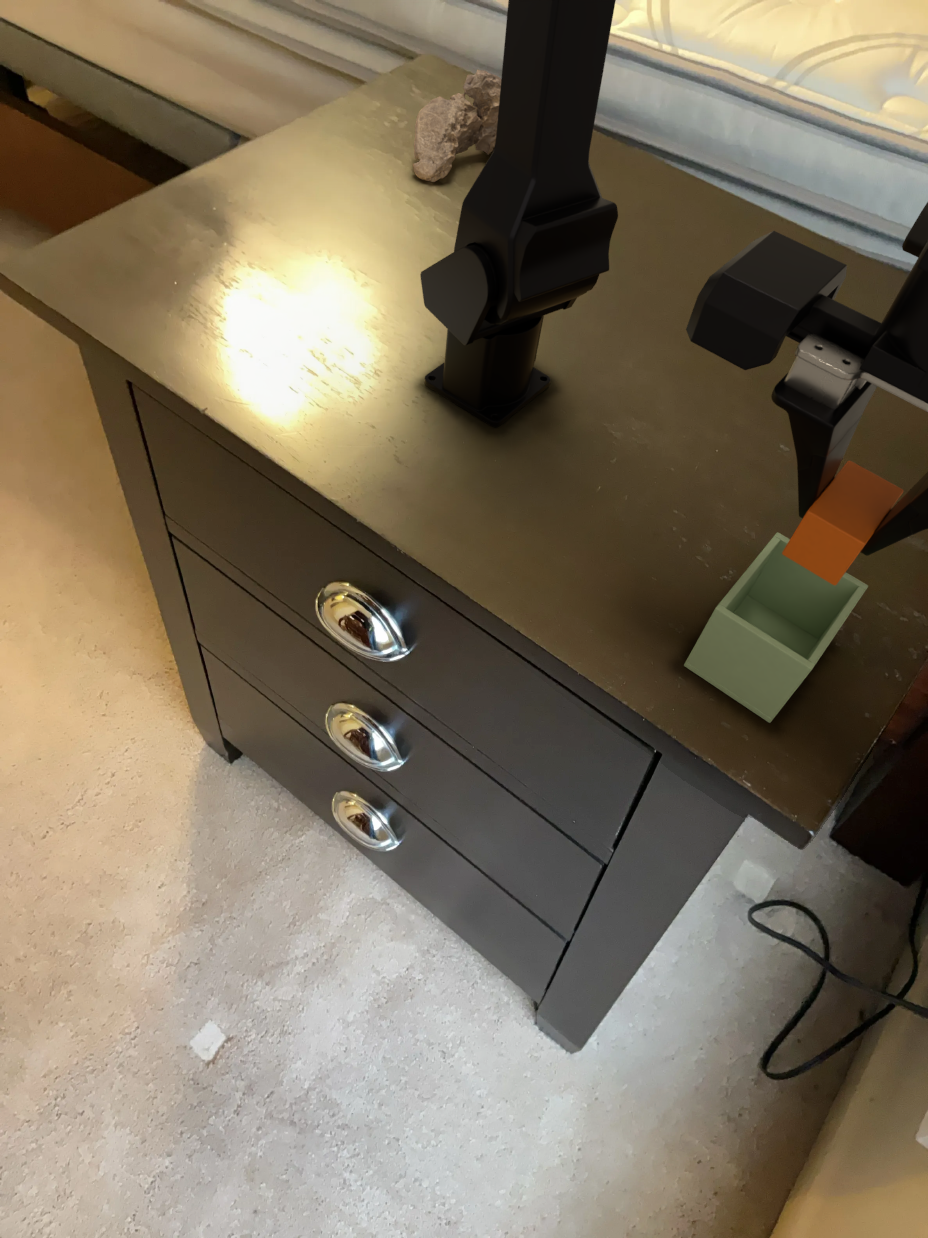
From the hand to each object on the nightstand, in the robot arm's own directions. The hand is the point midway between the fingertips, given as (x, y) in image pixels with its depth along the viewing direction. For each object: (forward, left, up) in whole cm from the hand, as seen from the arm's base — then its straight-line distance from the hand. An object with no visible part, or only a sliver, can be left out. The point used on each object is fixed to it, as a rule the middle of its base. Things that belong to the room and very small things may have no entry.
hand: (836, 531), depth 40 cm
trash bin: (0, 0, -10) cm, 10 cm away
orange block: (0, 0, -1) cm, 1 cm away
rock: (+31, +44, -11) cm, 55 cm away
